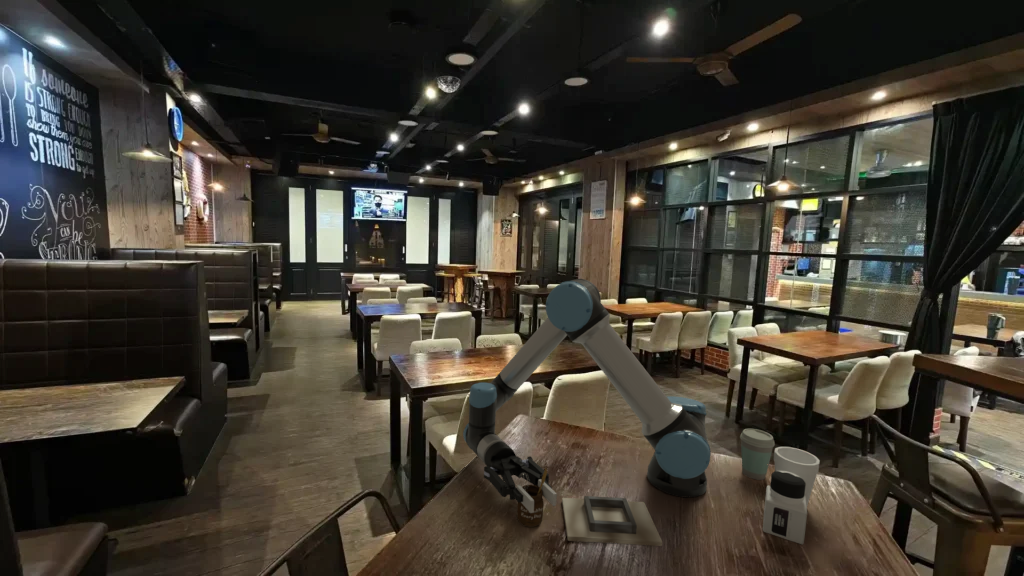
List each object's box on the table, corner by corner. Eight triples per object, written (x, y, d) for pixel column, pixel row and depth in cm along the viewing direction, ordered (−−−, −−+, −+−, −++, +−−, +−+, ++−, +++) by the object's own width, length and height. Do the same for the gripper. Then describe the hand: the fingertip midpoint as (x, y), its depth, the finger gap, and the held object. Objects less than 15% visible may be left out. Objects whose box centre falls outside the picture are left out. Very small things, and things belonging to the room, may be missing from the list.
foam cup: (809, 500, 110) (815, 452, 109) (817, 520, 102) (824, 469, 100) (767, 490, 114) (772, 443, 113) (771, 509, 106) (777, 459, 104)
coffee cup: (776, 484, 117) (780, 442, 116) (742, 480, 118) (746, 438, 117) (764, 468, 125) (768, 429, 124) (732, 464, 127) (736, 426, 126)
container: (803, 545, 93) (810, 489, 91) (762, 532, 97) (768, 477, 95) (802, 526, 99) (808, 473, 98) (763, 514, 103) (769, 463, 102)
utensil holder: (515, 511, 100) (517, 462, 99) (541, 511, 101) (544, 462, 100) (518, 528, 94) (521, 476, 93) (546, 527, 95) (549, 476, 94)
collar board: (643, 505, 105) (644, 494, 105) (661, 546, 91) (662, 532, 91) (562, 501, 105) (562, 490, 105) (567, 540, 92) (568, 527, 91)
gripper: (525, 461, 117) (576, 508, 97) (464, 476, 109) (506, 531, 88) (526, 435, 117) (578, 477, 96) (464, 447, 108) (507, 497, 88)
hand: (543, 503), depth 92 cm, fingers closed on utensil holder, 5 cm apart
